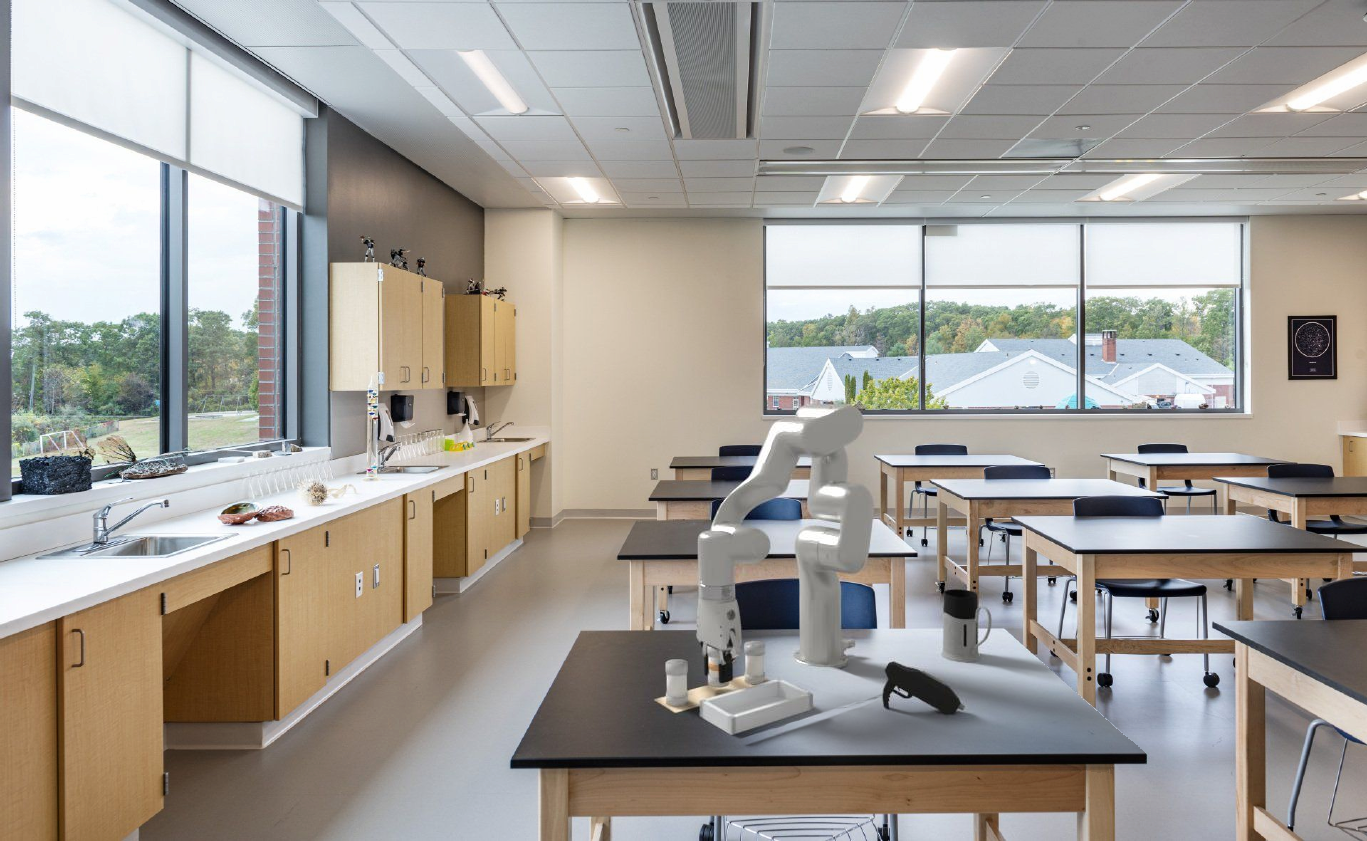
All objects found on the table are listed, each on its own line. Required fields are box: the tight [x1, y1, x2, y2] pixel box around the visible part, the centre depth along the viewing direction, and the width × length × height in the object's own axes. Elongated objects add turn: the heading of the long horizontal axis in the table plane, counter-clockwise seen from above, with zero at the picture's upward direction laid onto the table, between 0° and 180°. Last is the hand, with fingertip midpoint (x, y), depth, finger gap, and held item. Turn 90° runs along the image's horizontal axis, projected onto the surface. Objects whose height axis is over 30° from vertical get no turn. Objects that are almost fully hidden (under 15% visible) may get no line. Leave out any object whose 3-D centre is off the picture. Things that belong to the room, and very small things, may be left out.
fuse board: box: [653, 674, 772, 714], centre depth 162 cm, size 26×8×1 cm, turn 124°
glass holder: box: [940, 588, 992, 663], centre depth 182 cm, size 9×14×15 cm, turn 21°
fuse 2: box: [743, 640, 766, 685], centre depth 167 cm, size 4×4×8 cm
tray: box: [699, 678, 814, 736], centre depth 151 cm, size 20×10×4 cm, turn 124°
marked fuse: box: [707, 644, 729, 688], centre depth 162 cm, size 4×4×8 cm
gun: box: [881, 661, 966, 716], centre depth 154 cm, size 3×16×10 cm, turn 79°
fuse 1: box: [665, 658, 689, 707], centre depth 156 cm, size 4×4×8 cm
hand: (718, 677), depth 162 cm, fingers closed on marked fuse, 4 cm apart
